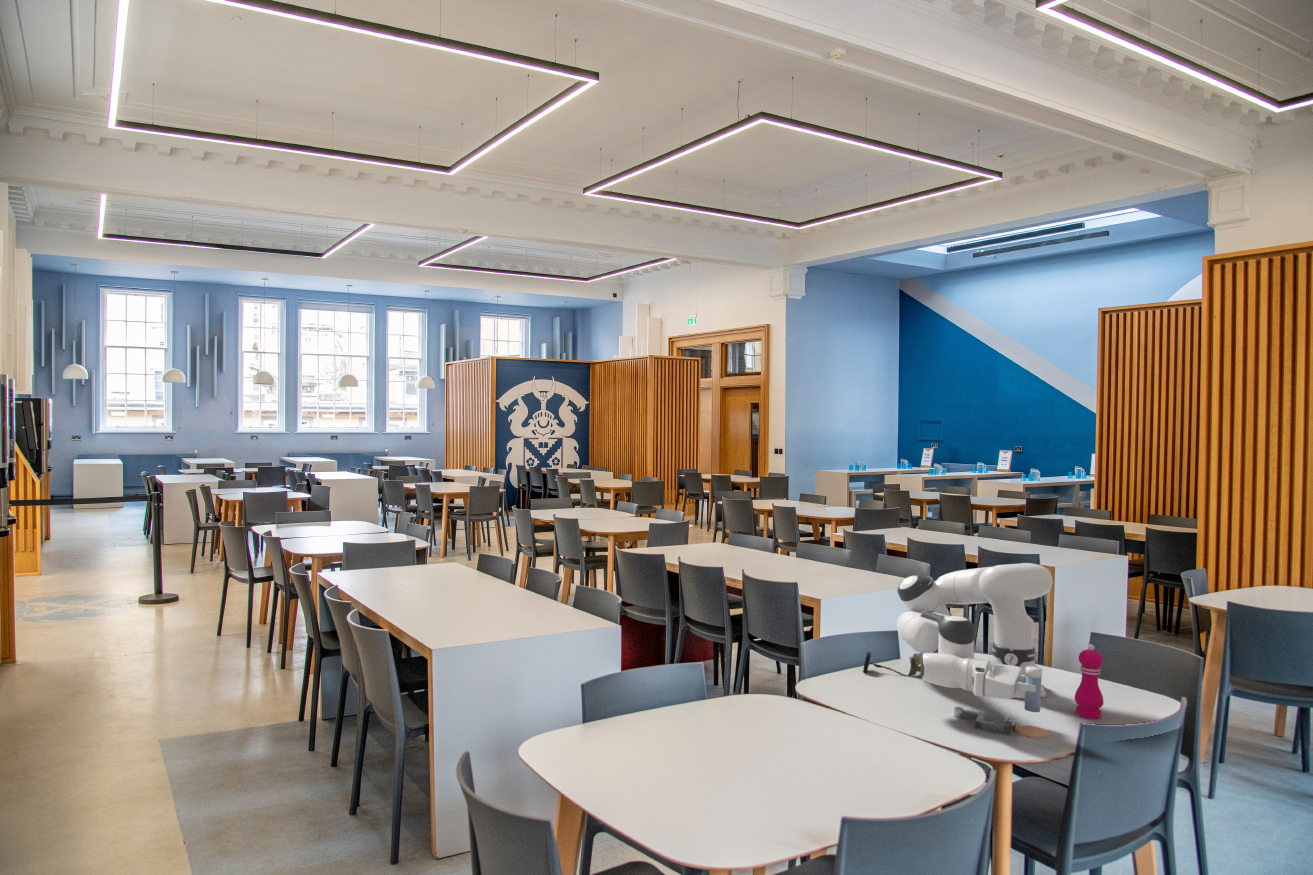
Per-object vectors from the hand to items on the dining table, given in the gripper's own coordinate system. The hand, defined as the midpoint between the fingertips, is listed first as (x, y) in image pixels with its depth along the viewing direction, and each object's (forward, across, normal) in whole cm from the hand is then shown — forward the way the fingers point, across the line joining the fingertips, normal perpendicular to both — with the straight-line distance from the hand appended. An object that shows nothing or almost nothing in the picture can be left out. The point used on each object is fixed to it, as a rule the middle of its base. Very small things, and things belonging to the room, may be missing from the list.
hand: (1037, 685), depth 215 cm
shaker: (-1, 0, -7) cm, 7 cm away
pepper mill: (+12, -24, -13) cm, 30 cm away
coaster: (-1, 0, -12) cm, 13 cm away
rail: (-13, +2, -12) cm, 18 cm away
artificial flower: (-43, -32, -13) cm, 55 cm away
